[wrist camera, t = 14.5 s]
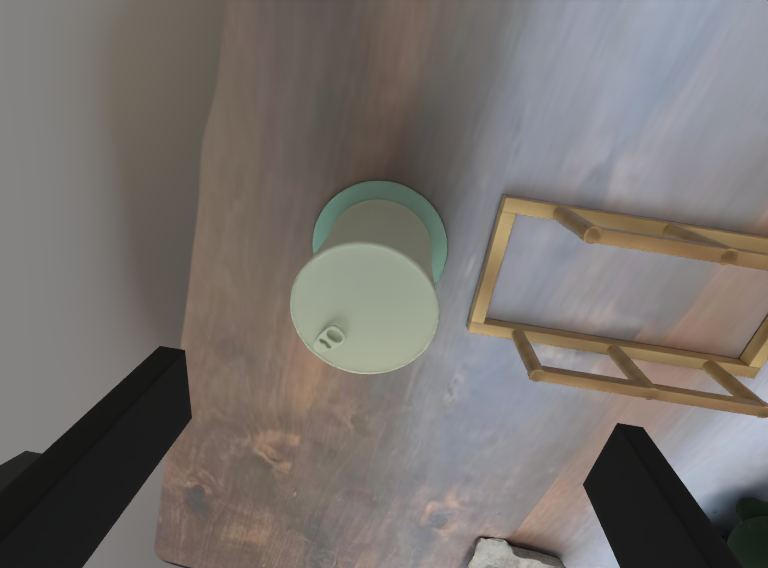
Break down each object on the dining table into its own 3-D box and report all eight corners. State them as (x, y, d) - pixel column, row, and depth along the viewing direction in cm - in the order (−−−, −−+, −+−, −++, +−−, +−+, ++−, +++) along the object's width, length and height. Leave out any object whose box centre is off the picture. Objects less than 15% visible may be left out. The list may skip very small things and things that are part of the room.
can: (306, 245, 33) (254, 308, 22) (383, 175, 30) (366, 208, 19) (375, 315, 36) (359, 403, 25) (452, 256, 33) (473, 326, 22)
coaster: (318, 169, 31) (317, 170, 30) (460, 192, 31) (461, 193, 30) (309, 297, 36) (308, 299, 35) (432, 316, 36) (432, 319, 35)
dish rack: (502, 194, 31) (526, 215, 24) (828, 246, 31) (941, 281, 24) (466, 325, 36) (478, 372, 29) (744, 370, 36) (818, 427, 29)
